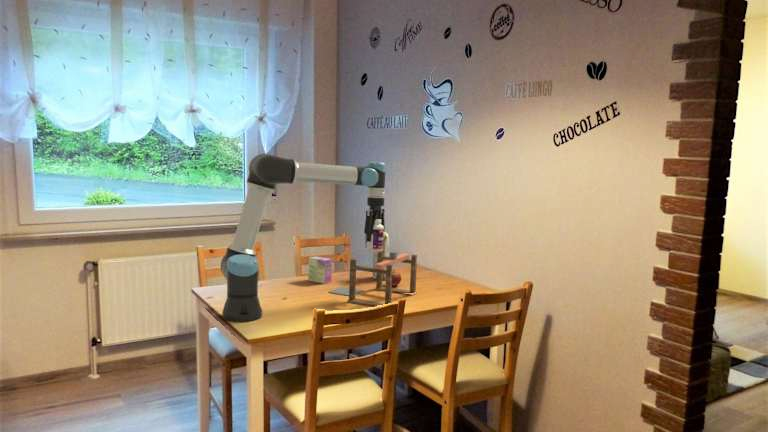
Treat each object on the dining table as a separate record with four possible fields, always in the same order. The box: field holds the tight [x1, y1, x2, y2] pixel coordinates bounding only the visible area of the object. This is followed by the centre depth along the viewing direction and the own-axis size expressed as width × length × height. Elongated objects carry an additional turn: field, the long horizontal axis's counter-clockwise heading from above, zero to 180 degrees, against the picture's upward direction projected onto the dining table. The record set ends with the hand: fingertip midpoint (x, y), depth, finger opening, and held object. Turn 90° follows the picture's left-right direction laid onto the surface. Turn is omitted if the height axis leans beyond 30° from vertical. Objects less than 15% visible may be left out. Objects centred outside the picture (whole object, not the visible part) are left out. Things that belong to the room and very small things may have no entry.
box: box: [307, 255, 333, 285], centre depth 287 cm, size 10×6×12 cm, turn 58°
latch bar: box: [375, 251, 411, 270], centre depth 257 cm, size 29×3×5 cm, turn 154°
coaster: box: [328, 286, 365, 297], centre depth 270 cm, size 12×12×1 cm
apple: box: [384, 270, 402, 287], centre depth 284 cm, size 8×8×8 cm
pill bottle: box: [364, 219, 385, 253], centre depth 260 cm, size 8×8×14 cm
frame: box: [347, 251, 418, 307], centre depth 260 cm, size 30×20×18 cm, turn 154°
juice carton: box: [372, 231, 390, 281], centre depth 297 cm, size 9×8×24 cm
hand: (374, 247), depth 261 cm, fingers closed on pill bottle, 8 cm apart
